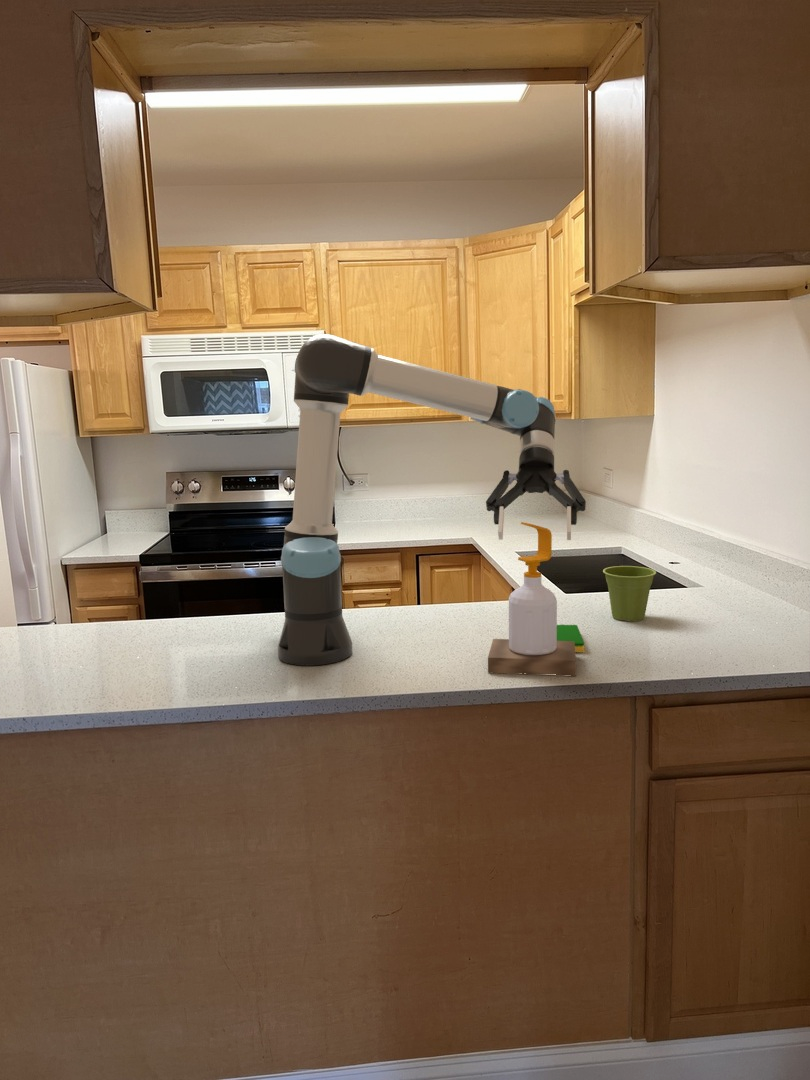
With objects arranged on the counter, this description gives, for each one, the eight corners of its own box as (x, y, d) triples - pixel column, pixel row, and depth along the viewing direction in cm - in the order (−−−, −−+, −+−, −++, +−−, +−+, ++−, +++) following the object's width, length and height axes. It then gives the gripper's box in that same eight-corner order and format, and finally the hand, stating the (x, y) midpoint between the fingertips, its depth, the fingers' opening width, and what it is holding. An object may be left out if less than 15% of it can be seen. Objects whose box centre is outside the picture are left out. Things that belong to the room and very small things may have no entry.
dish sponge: (548, 654, 151) (548, 642, 150) (543, 634, 164) (543, 624, 164) (584, 654, 150) (584, 643, 149) (576, 635, 163) (577, 624, 163)
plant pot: (591, 617, 175) (592, 570, 174) (622, 609, 183) (623, 563, 181) (634, 627, 166) (635, 578, 164) (665, 618, 173) (666, 570, 171)
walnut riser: (488, 672, 139) (487, 657, 139) (493, 653, 151) (493, 638, 151) (575, 676, 136) (575, 660, 136) (574, 655, 148) (574, 641, 147)
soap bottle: (499, 646, 146) (499, 521, 142) (539, 639, 149) (540, 517, 145) (524, 658, 137) (524, 527, 134) (566, 652, 141) (567, 523, 137)
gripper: (595, 467, 162) (597, 547, 150) (480, 468, 167) (474, 546, 155) (596, 443, 156) (599, 524, 144) (477, 446, 161) (470, 524, 149)
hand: (534, 536), depth 150 cm, fingers open, 13 cm apart
